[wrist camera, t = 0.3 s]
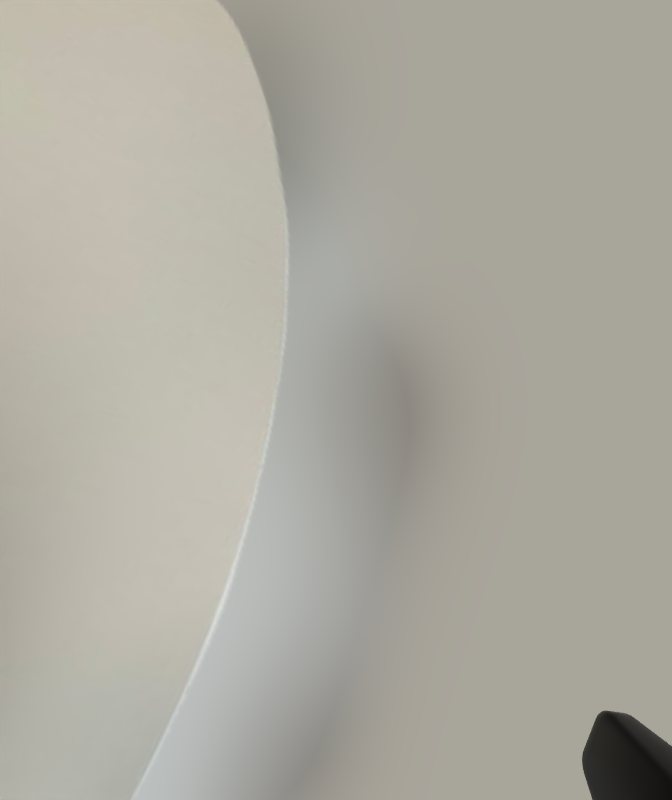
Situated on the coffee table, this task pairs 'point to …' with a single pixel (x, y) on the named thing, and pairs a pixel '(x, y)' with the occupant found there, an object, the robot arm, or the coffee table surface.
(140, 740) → the coffee table surface
